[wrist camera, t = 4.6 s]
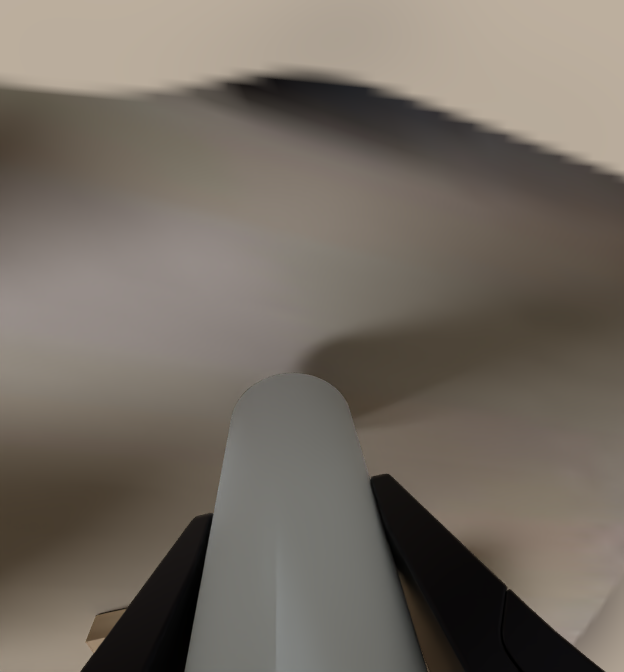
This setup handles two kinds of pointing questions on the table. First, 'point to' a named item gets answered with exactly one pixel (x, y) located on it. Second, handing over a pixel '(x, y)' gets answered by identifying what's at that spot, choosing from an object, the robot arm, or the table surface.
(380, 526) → the peg
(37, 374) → the table surface
